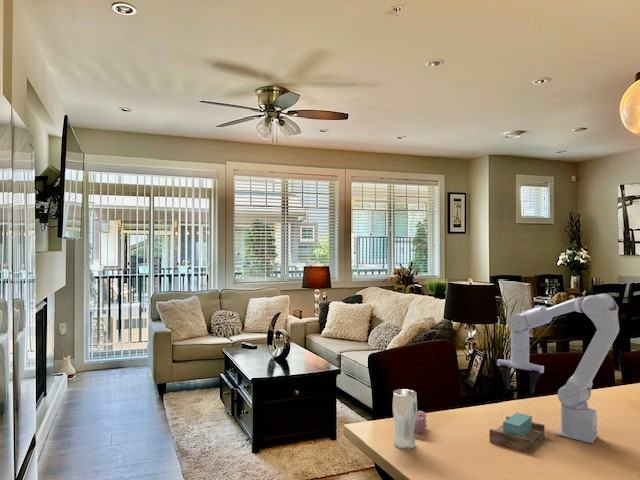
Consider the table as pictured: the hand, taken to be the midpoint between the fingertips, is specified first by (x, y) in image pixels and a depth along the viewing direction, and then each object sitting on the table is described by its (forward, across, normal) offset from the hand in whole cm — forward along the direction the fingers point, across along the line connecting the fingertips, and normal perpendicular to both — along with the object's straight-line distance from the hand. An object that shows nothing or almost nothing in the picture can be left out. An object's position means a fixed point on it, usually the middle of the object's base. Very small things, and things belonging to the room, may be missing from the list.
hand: (519, 390), depth 157 cm
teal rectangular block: (+7, +5, -18) cm, 20 cm away
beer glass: (+10, -18, -44) cm, 48 cm away
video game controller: (+10, -21, -32) cm, 39 cm away
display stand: (+9, +5, -18) cm, 21 cm away
